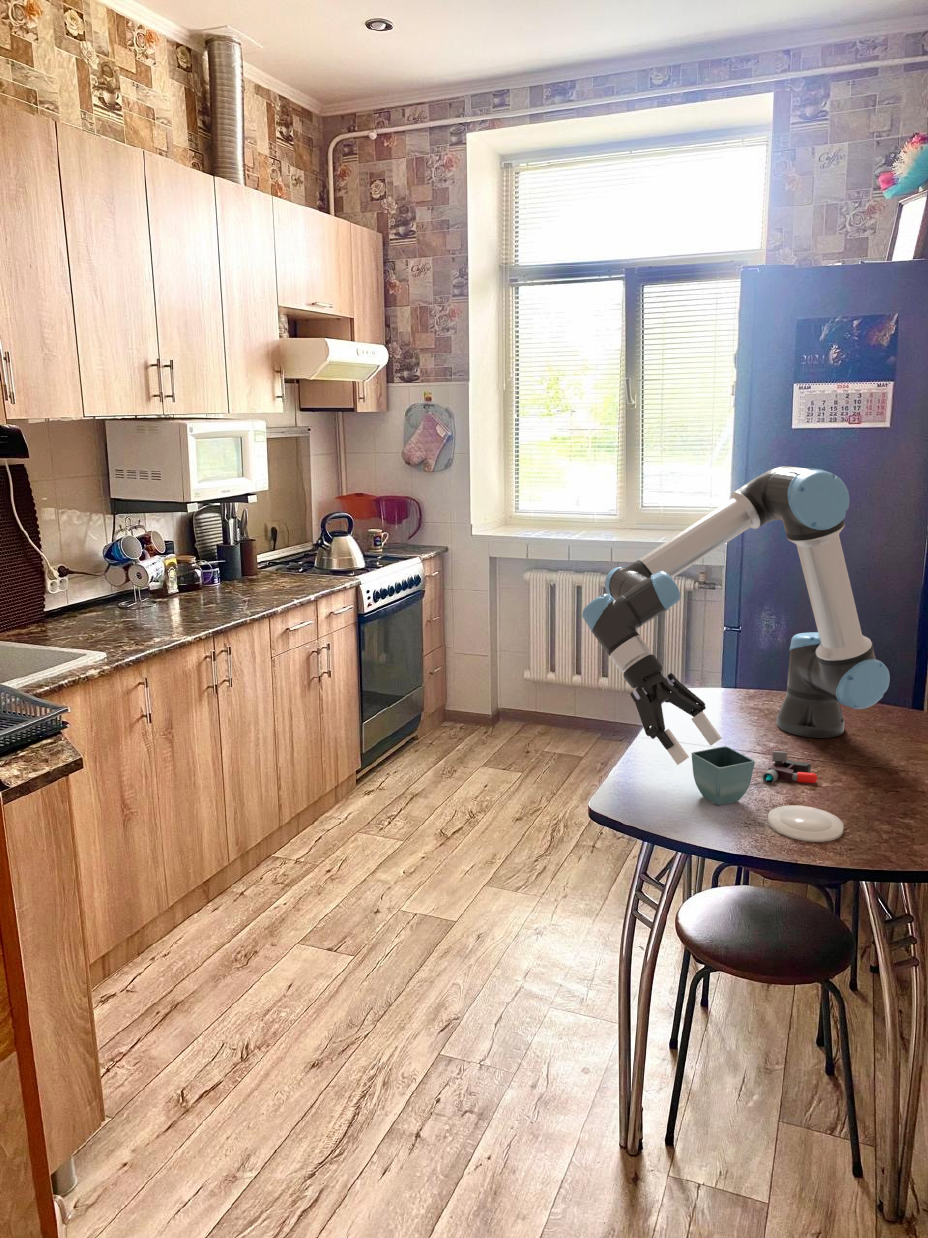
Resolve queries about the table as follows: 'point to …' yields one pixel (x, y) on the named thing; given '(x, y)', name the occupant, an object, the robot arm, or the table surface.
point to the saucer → (805, 823)
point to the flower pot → (722, 774)
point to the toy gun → (788, 770)
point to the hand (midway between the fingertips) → (700, 751)
